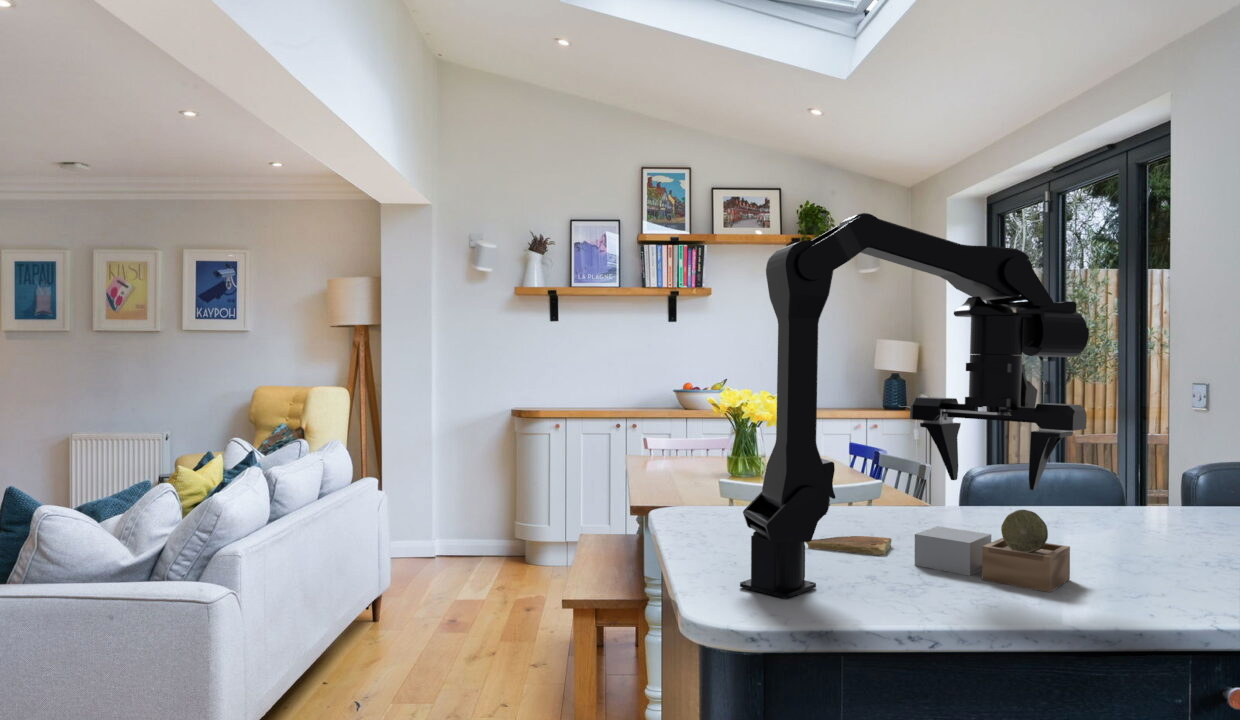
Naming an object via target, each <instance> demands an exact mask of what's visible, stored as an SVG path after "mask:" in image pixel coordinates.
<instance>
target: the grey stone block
mask: <svg viewBox="0 0 1240 720" xmlns="http://www.w3.org/2000/svg"><path fill="white" fill-rule="evenodd" d="M991 542H992V534H991V533H984V532H979V531H971V530H966V529H957V528H953V527H944V526H934V527H931V528H929V529H925V530H922V531H920V532H917V533H914V566H916V567H917V566H918V567H923V568H927V569H933V570H939V571H944V572H949V573H954V574H959V575H965V576H971V575H974V574H976V573H979V572H980V571H982V546H984V545H987V544H989V543H991Z"/></svg>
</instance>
